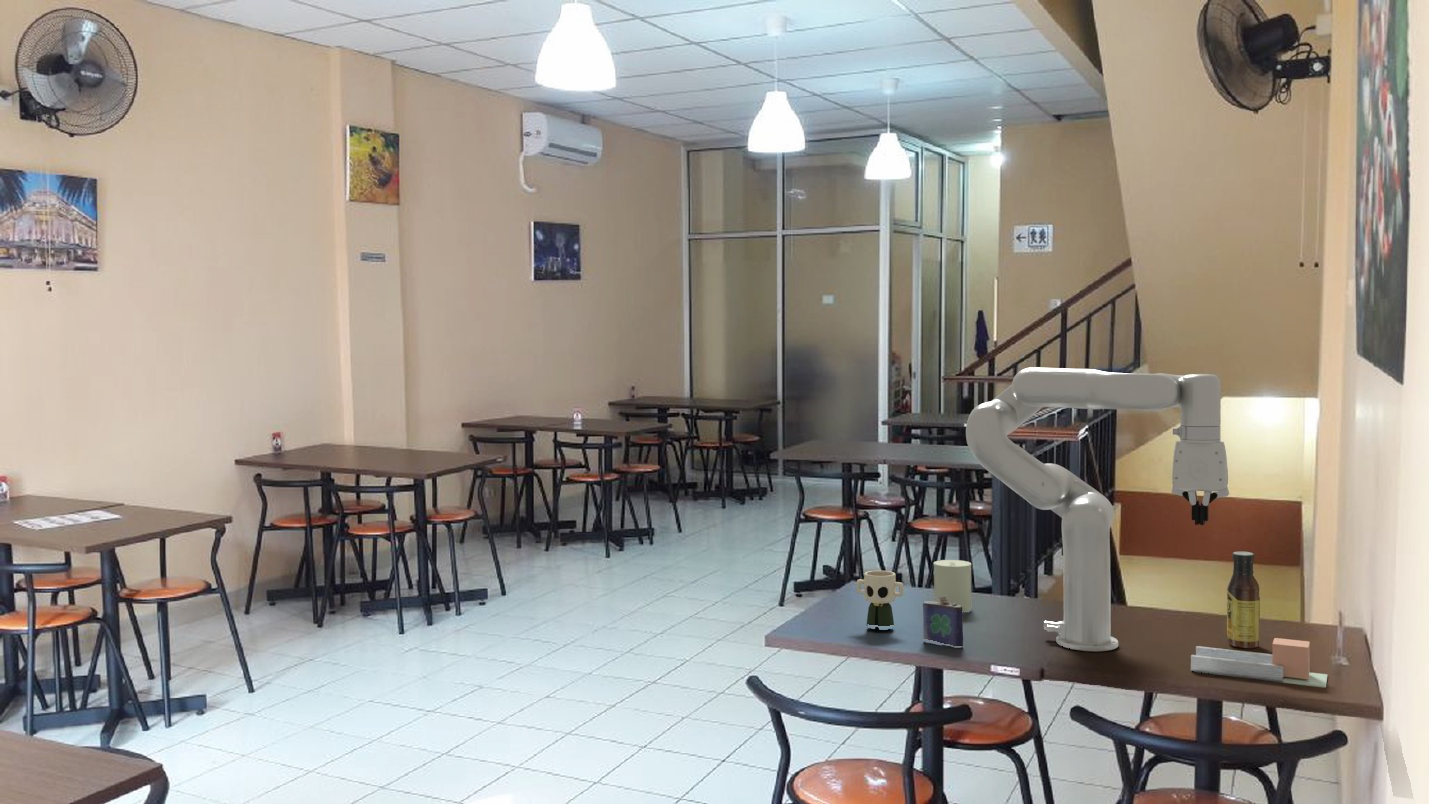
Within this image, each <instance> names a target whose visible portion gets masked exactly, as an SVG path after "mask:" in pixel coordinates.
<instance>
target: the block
mask: <svg viewBox="0 0 1429 804" xmlns="http://www.w3.org/2000/svg"><path fill="white" fill-rule="evenodd" d="M1310 643H1311V642H1310V641H1308V640H1300V639H1299V640H1298V639H1288V638H1279V637H1274V639H1273V641H1272V653H1271V654H1272V664H1277V665H1284V677H1292V678H1301V679H1309V673H1310V671H1311V670H1310V668H1311V667H1310V665H1311V663H1310V661H1311V659H1310V655H1311V654H1310V653H1311V649H1310V647H1311V645H1310Z"/></svg>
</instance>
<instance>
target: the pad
mask: <svg viewBox="0 0 1429 804" xmlns="http://www.w3.org/2000/svg"><path fill="white" fill-rule="evenodd" d="M1327 680H1328V674H1326V673H1320V672H1319V673H1318V672H1310V673H1309V679H1301V678H1292V677H1284V680H1283V684H1291V685H1292V684H1293V685H1300V686H1307V687H1317V688H1322V689H1326V688H1327V682H1328V681H1327Z"/></svg>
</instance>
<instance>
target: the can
mask: <svg viewBox="0 0 1429 804" xmlns="http://www.w3.org/2000/svg"><path fill="white" fill-rule="evenodd" d="M933 588H934V589H933V592H934V597H933V598H934V600H933V602H940V599H939V597H941V596H944V595H947V596H946V598H945V599H946V600H948V601H949V602H951V603H950V604H954V603H956V604H957V605H961V606H962V611H967V610H970V609H971V608H972V607H973V606H972V563H971V562H970V561H966V560H961V559H959V560H958V559H940V560H936V561H934V562H933ZM972 609H973V608H972Z"/></svg>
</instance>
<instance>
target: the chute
mask: <svg viewBox="0 0 1429 804" xmlns="http://www.w3.org/2000/svg"><path fill="white" fill-rule="evenodd" d="M1192 671H1194V672H1193V673H1200V674H1208V673H1209V674H1211V675H1216V676H1217V675H1218V676H1225V677H1235V678H1240V679H1241V678H1242V679H1250V680H1259V681H1266V682H1267V681H1268V682H1274V683H1283V680H1284V665H1277V664H1272V653H1271V654H1270V653H1263V652H1255V651H1246V650H1236V649H1227V648H1226V649H1225V648H1218V647H1217V648H1216V647H1209V646H1201V645H1196V646H1195V654H1191V655H1190V672H1192ZM1201 672H1202V673H1201ZM1209 674H1208V675H1209ZM1283 684H1284V683H1283Z"/></svg>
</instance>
